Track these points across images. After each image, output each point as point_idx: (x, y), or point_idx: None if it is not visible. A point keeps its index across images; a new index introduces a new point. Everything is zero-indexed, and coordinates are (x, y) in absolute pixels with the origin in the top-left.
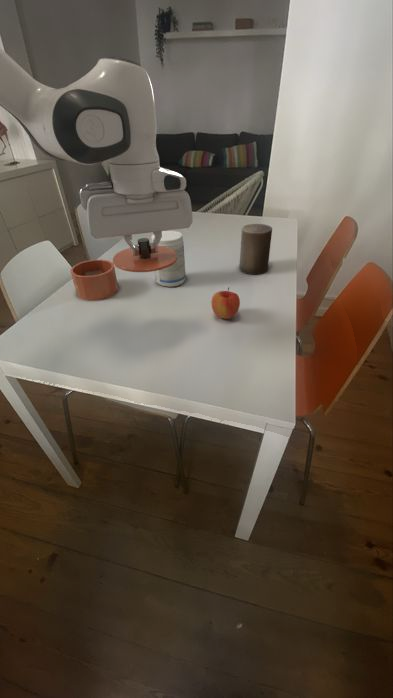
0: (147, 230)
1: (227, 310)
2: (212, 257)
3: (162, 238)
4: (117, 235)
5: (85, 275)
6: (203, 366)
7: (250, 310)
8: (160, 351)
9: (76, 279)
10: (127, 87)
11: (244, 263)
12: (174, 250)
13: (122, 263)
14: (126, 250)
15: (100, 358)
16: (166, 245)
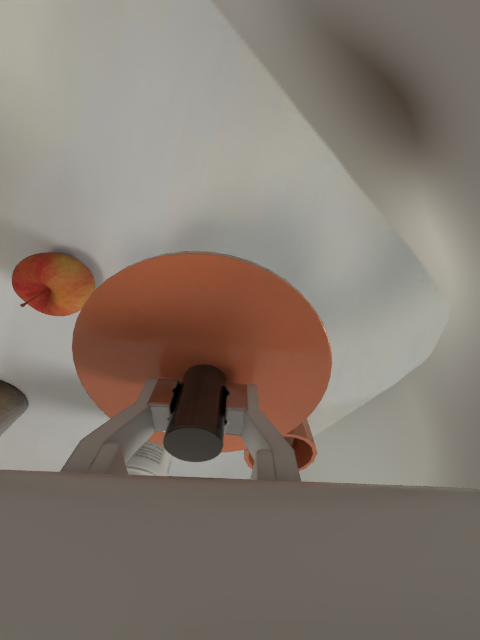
0: (146, 491)
1: (54, 255)
2: (75, 445)
3: None
4: (355, 487)
5: (291, 445)
6: (157, 118)
7: None
8: (228, 217)
9: (311, 437)
10: None
11: (4, 406)
12: None
13: (305, 358)
14: None
15: (332, 245)
16: (135, 470)
